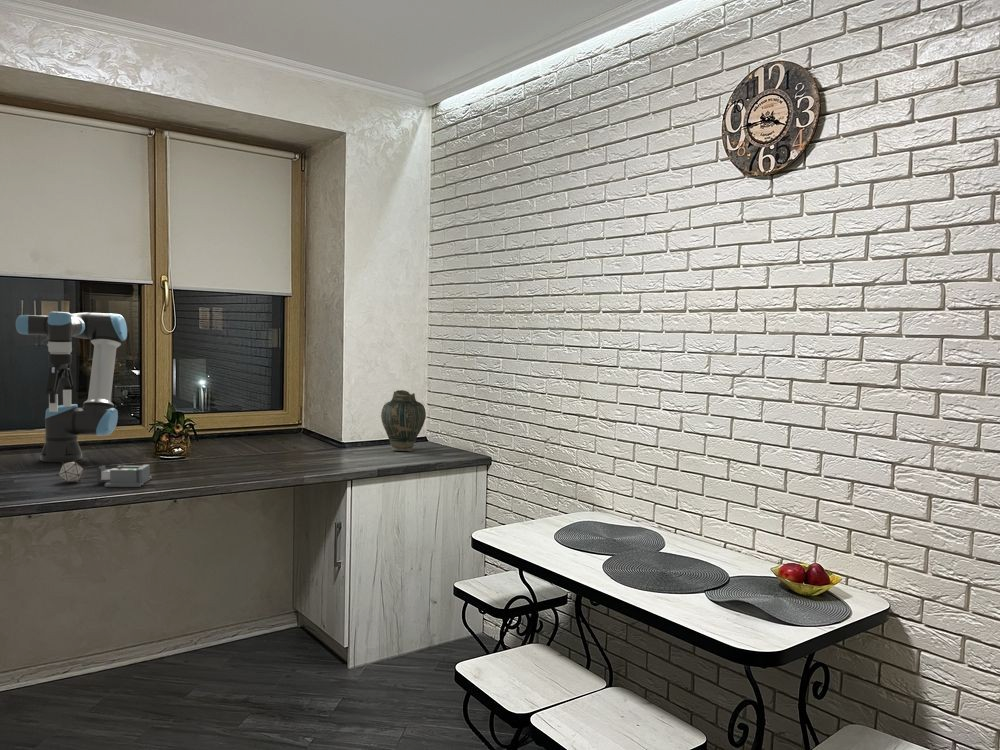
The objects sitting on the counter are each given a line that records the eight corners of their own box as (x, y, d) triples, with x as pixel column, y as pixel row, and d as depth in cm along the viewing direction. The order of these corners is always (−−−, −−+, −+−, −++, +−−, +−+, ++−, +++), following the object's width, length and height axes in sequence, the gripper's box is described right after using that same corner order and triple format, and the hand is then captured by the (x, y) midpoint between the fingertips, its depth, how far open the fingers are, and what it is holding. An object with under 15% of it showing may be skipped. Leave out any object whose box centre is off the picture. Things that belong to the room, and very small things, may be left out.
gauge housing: (118, 478, 276) (118, 462, 276) (151, 478, 278) (151, 463, 278) (104, 486, 262) (104, 470, 262) (139, 486, 264) (139, 470, 264)
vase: (379, 446, 371) (381, 388, 369) (422, 446, 375) (424, 389, 373) (380, 454, 349) (382, 392, 347) (426, 454, 354) (428, 393, 352)
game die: (65, 493, 266) (46, 473, 262) (76, 480, 273) (57, 460, 269) (84, 482, 264) (65, 462, 260) (95, 470, 272) (76, 450, 268)
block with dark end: (101, 477, 271) (102, 463, 270) (128, 477, 272) (128, 463, 272) (94, 481, 264) (94, 467, 264) (121, 481, 265) (121, 467, 265)
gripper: (61, 350, 282) (62, 404, 284) (35, 355, 258) (35, 413, 260) (82, 351, 284) (83, 404, 286) (58, 355, 259) (58, 414, 261)
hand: (60, 409), depth 273 cm, fingers open, 13 cm apart
